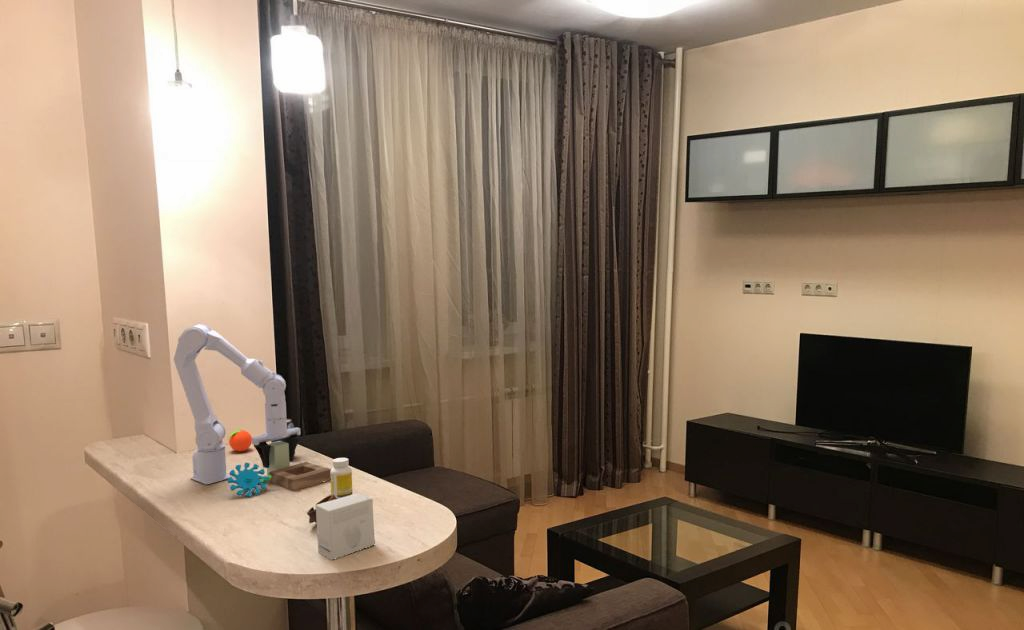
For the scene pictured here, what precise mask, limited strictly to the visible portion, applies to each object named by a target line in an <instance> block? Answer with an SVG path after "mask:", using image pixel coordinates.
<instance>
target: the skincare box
mask: <svg viewBox="0 0 1024 630" xmlns="http://www.w3.org/2000/svg"><path fill="white" fill-rule="evenodd" d="M316 504H317V503H316ZM316 504H315V509H316V519H317V523H316V532H317V549H318V551H317V552H318V553H319V552H320V554H321V555H323V556H324V557H326V558H327V559H329V558H330V560H331V559H332V560H331V561H334V560H333V559H335V558H337V559H339V558H338V557H340V558H342V557H341V556H343V557H345V556H344V555H346V556H348V555H347V554H349V555H351V554H350V553H352V554H354V553H353V552H355V551H357V552H359V551H358V550H360V549H363V548H366V547H369V546H372V545H374V544H375V545H376V539H375V523H374V522H375V521H374V507H373V504H374V503H373V498H372V497H370V496H368V495H364V494H363V493H359V492H357V493H352V495H349V496H346V497H342V498H339V499H335V500H332V501H328V502H324V503H321V504H317V505H316ZM372 547H373V546H372ZM369 548H370V547H369ZM366 549H367V548H366ZM363 550H364V549H363ZM360 551H361V550H360ZM355 553H356V552H355ZM335 560H336V559H335Z"/></svg>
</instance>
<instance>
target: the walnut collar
mask: <svg viewBox="0 0 1024 630" xmlns="http://www.w3.org/2000/svg"><path fill="white" fill-rule="evenodd" d="M331 469H332V468H328V467H325V466H322V465H318V464H316V463H315V464H314V463H311V462H308V461H304V462H302V463H301V462H300V463H297V464H293V465H289V467H285V468H282V469H278V470H274V471H271V472H269V475H271V476H272V477H271V480H270V481H268V482H269V483H270V484H273V485H276V486H279V487H282V488H284V489H287V490H290V491H293V492H296V491H298V490H302V489H305V487H306V488H308V486H309V487H311V485H312V486H315V485H318V484H317V483H319V484H321V483H320V482H322V483H324V482H323V481H325V482H327V481H326V480H328V481H331V480H330V479H331V475H330V471H331ZM314 484H315V485H314Z"/></svg>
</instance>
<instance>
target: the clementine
mask: <svg viewBox="0 0 1024 630" xmlns="http://www.w3.org/2000/svg"><path fill="white" fill-rule="evenodd" d="M252 438H253V437H252V435H251V433H249V431H247V430H246V429H239V430H236V431H233V432H231V433H230V435H229V437H228V439H227V440H228V443H229V446H230V448H231V449H232V450H234V452H240V453H241V452H244V451H246V450H249V448H250V447H251V446H252Z"/></svg>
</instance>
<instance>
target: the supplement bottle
mask: <svg viewBox="0 0 1024 630" xmlns="http://www.w3.org/2000/svg"><path fill="white" fill-rule="evenodd" d="M349 461H350V460H349V458H347V457H337V458H334V459H332V466H333V467H332V468H330V469H331V471H330V475H331V480H330V495H332V494H334V495H335V497H336V498H340V497H341V496H343V495H345V494H350V495H353V473H352V472H353V471H352V468H351V467H350V466H349Z"/></svg>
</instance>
